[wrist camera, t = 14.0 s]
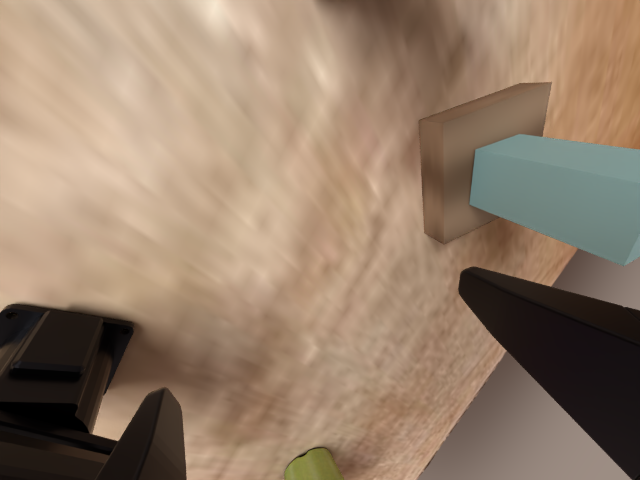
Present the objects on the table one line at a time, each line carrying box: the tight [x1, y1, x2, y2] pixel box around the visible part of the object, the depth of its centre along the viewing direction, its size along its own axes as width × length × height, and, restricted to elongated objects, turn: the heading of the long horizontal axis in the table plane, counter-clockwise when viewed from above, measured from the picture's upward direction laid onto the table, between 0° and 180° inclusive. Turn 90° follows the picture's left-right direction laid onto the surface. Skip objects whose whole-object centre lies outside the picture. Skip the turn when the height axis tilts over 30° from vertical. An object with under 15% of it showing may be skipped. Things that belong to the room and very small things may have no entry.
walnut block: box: [419, 82, 552, 244], centre depth 24 cm, size 10×10×3 cm
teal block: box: [469, 134, 640, 266], centre depth 19 cm, size 4×4×10 cm
